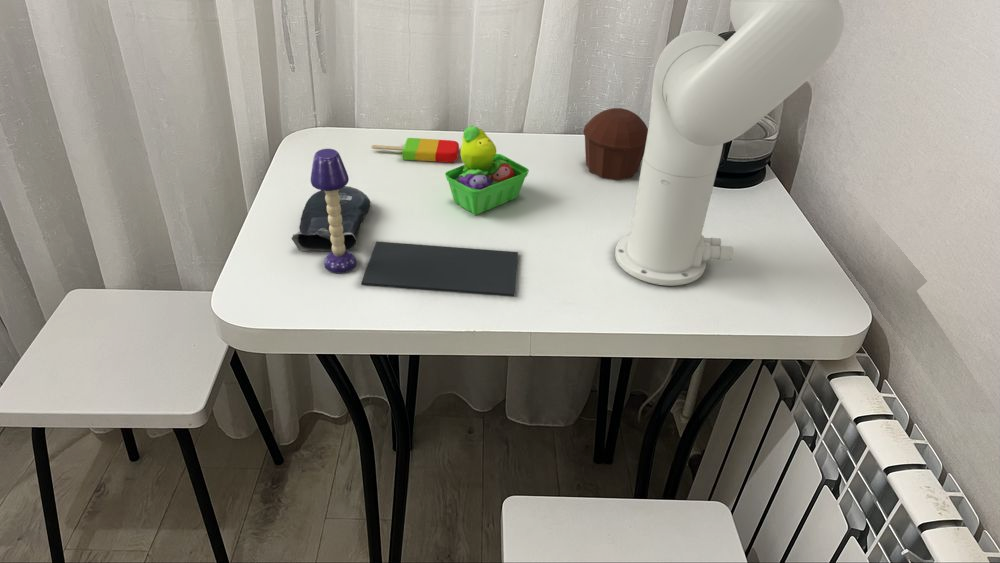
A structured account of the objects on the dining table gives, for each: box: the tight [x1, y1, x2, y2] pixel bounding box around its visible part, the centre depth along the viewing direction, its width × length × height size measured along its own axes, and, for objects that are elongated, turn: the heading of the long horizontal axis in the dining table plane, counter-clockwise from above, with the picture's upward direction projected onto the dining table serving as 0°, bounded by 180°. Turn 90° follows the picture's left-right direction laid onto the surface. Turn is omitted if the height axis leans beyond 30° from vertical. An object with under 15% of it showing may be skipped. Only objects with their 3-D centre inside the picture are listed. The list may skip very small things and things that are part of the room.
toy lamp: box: [310, 148, 357, 274], centre depth 95 cm, size 5×5×17 cm
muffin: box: [582, 107, 648, 181], centre depth 125 cm, size 12×11×10 cm
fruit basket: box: [444, 125, 530, 216], centre depth 114 cm, size 11×9×11 cm
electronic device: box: [291, 185, 371, 252], centre depth 108 cm, size 9×6×15 cm
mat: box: [360, 241, 519, 297], centre depth 101 cm, size 20×10×1 cm, turn 87°
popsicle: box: [370, 137, 460, 163], centre depth 128 cm, size 6×15×2 cm, turn 88°
